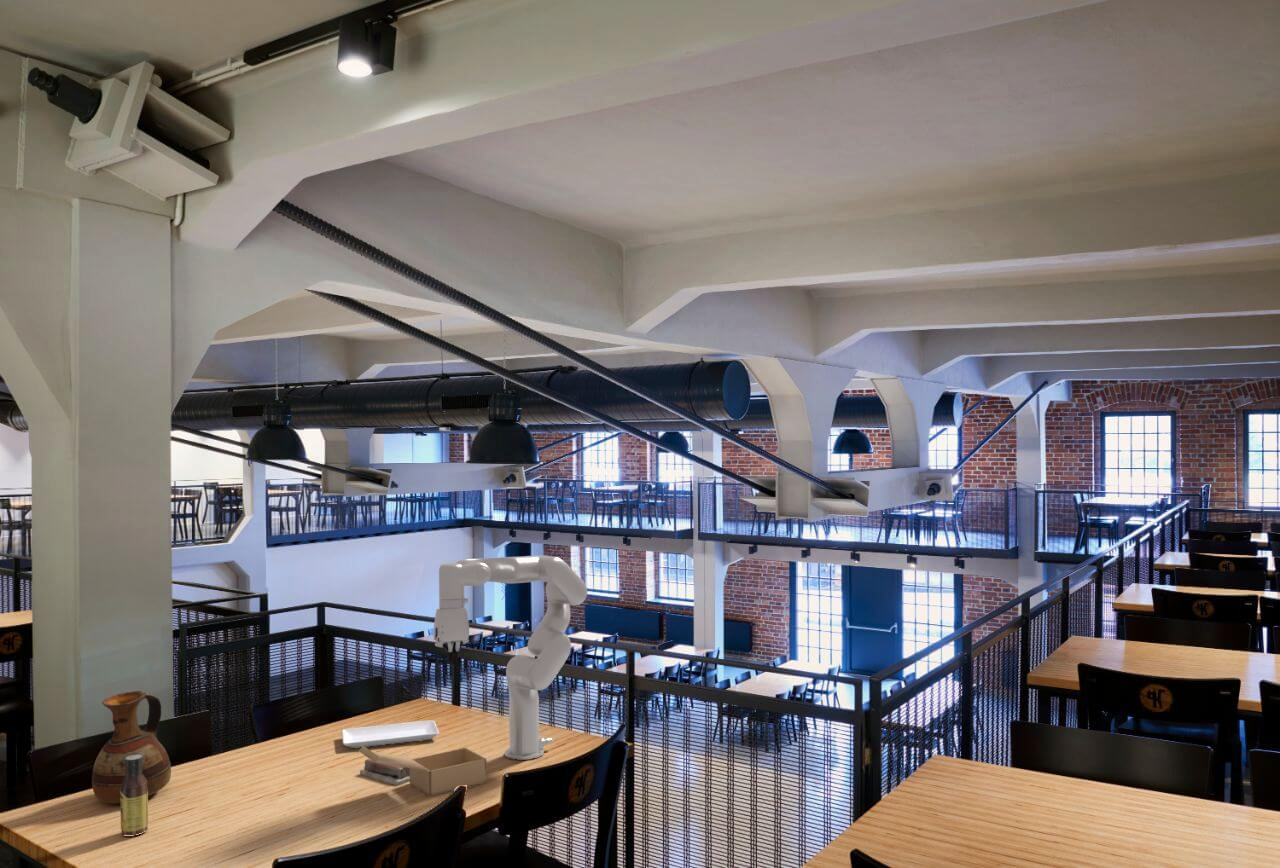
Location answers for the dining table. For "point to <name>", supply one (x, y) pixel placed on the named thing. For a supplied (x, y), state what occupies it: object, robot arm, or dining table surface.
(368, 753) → the lid
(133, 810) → the sauce bottle
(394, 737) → the tray
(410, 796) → the dining table surface
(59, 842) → the dining table surface
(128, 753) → the ceramic pitcher
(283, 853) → the dining table surface
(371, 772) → the packaged product
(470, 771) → the mailer box
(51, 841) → the dining table surface
